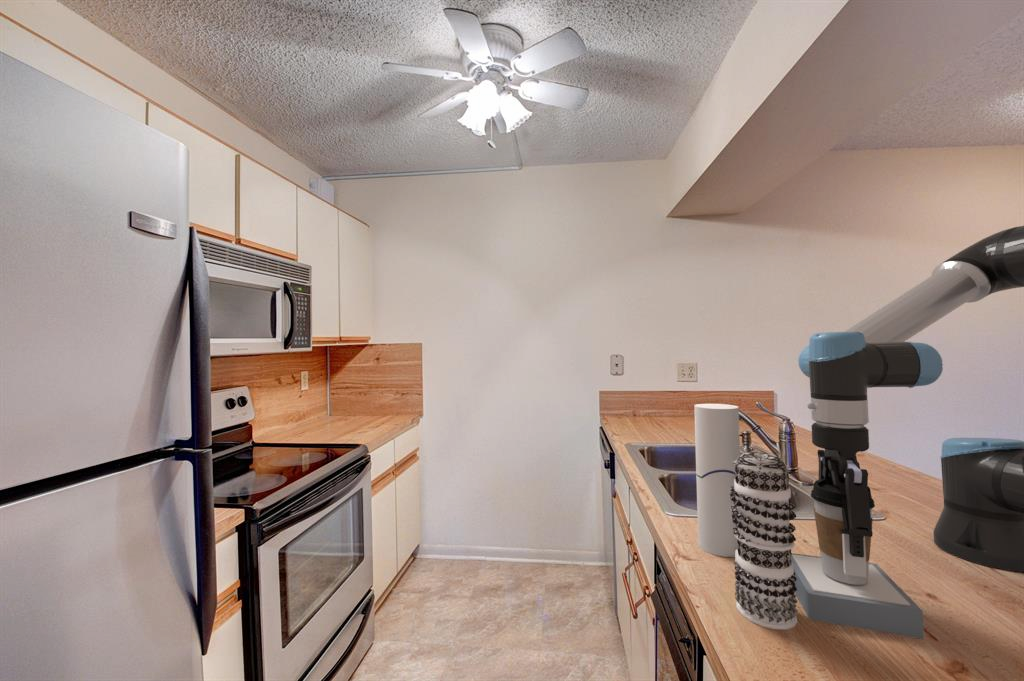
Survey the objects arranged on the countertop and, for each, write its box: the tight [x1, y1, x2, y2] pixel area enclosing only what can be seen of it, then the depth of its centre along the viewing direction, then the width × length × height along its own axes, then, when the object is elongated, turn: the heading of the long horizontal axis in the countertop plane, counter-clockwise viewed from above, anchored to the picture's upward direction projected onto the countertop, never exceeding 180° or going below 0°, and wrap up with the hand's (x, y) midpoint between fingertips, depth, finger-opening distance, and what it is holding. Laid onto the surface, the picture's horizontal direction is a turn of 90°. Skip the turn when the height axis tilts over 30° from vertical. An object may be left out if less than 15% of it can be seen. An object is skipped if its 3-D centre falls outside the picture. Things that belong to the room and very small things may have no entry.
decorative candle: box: [730, 451, 799, 630], centre depth 67 cm, size 9×9×25 cm
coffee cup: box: [810, 479, 876, 585], centre depth 69 cm, size 8×8×15 cm
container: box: [693, 403, 741, 558], centre depth 89 cm, size 9×9×30 cm
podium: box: [791, 552, 925, 640], centre depth 69 cm, size 14×14×4 cm
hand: (844, 561), depth 69 cm, fingers closed on coffee cup, 7 cm apart
